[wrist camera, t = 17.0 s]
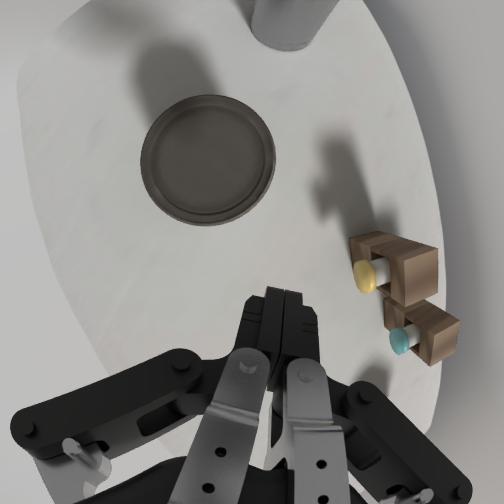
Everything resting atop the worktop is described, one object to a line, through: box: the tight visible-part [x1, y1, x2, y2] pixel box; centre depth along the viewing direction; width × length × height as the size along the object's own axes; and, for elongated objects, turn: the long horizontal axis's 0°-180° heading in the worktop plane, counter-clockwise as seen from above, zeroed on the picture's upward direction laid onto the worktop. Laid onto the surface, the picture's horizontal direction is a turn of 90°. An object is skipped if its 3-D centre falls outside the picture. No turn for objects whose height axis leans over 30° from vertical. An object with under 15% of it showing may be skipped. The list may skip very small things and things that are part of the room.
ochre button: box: [353, 257, 391, 294], centre depth 29 cm, size 4×7×4 cm, turn 103°
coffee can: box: [140, 95, 276, 226], centre depth 26 cm, size 10×10×14 cm
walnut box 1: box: [349, 231, 438, 307], centre depth 31 cm, size 5×5×13 cm
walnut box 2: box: [384, 297, 460, 367], centre depth 34 cm, size 5×5×13 cm
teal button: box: [389, 323, 421, 355], centre depth 32 cm, size 4×7×4 cm, turn 103°
